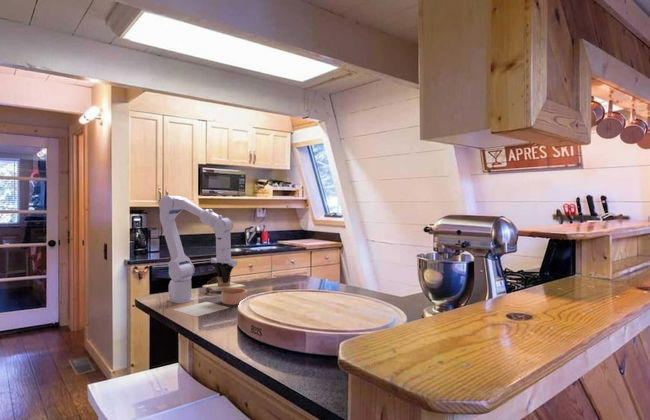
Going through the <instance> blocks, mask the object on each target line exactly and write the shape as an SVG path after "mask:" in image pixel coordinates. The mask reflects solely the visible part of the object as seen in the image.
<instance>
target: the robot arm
mask: <svg viewBox="0 0 650 420" xmlns="http://www.w3.org/2000/svg"><path fill="white" fill-rule="evenodd" d="M157 205H158V208H159V220H160V221H159V222H160V224H161V228H162V231H163V234H164V235H163V236H164V238H165V242H166V246H167V249H168V252H169V255H170V260H169V262H168V264H167V266H168V276H169V278H170V279H171V280H170V281H169V283H168V299H166V300H167V302H172V303H176V304H182V303H183V304H184V303H187V302H192V301H196V300H197V298H194V297H192V278H193V277H192V276H193V275H194V274H195V265H194V264H193V263H192V261H191V259H190V257H189V256H187V255H186V253H185V252H184V247H183V245H182V244H183V243H182V240H181V237H180V233H179V230H178V228H177V223H176V220H175V219H176V218H177V216H178V215H179V214H180V213H181V212H182V211H183V210H185V211H187V212H189V213H191V214H193V215H195V216H197V217H198V218H199V220H200V222H202V224H204V225H207V226H208V227H210V228H212V230H213V232H214V234H215V235H214V236H215V255H216V256H215V257H211V258H210V263H211V264H214V265H213V268H214V270H215V271H216V274H217V277H222V279H223V283H227V282H228V281H229V277H230V278H231V273H232V270H233V269H234V267H237V266H238V260H235V259H232V248H231V246H232V245H231V244H232V243H231V241H232V240H231V237H232V236H231V231H232V230H233V227H234V224H233V221H232V219H230V218H229V217H223V216H222V215H221V214H218V213H216V212H214V209H212V208H206V209H203V208H202V207H200V206H199V205H197V204H195V203H193V202H192V201H191V200H189V198H187V197H185V196H183V195H179V194H178V195H166V194H165V195H163V196H162V197H161V198H160V199H159V201H158V203H157Z"/></svg>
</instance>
